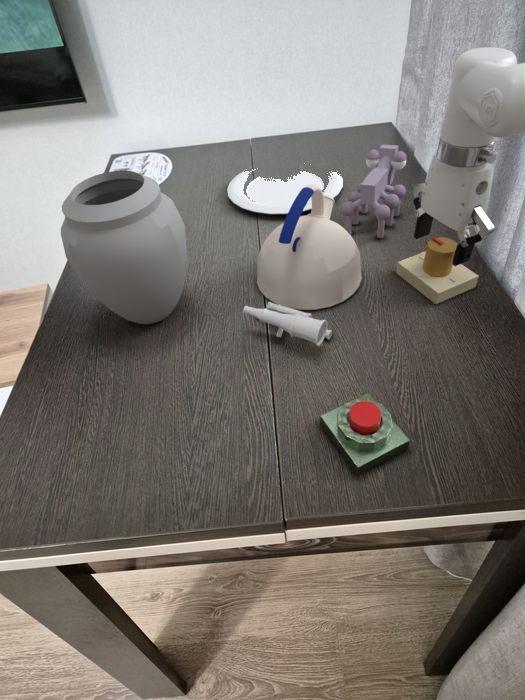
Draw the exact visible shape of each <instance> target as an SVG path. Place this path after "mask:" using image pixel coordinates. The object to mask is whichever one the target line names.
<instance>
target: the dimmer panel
mask: <svg viewBox="0 0 525 700" xmlns="http://www.w3.org/2000/svg"><path fill="white" fill-rule="evenodd" d="M425 253H426V250H425V251H422V252H419V253H417V254H415V255H414V254H413V255H412V256H410V257H407V258H404V259H402V260H399V261H397V262H396V269H395V274H397V275H398V276H399V277H400V278H402V279H403V280H404V281H405V282H406V283H408V284H409V285H410V286H411V287H413V288H414V289H415V290H416V291H418V292H420V294H422V295H423V296H424V297H426V298H427V299H428V300H429V301H430V302H432V303H433V304H434V305H437V304H440V303H442V302H445V301H447V300H449V299H451V298H454V297H456V296H458V295H461V294H463V293H465V292H468V291H470V290H472V289H475V288H476V286H477V283H478V280H479V277H480V276H479V275H478V274H477V273H475V272H474V271H472V270H471V269H469V268H468V267H466V266H464V265H463V263H462V264H460V265H457V266H454V265H453V267H452V271H451V273H450V274H448V275H446V276H442V277H436V276H431V275H429V274H427V273H426V272H425V271H424V270H423V263H424V258H425Z"/></svg>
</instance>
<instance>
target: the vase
mask: <svg viewBox="0 0 525 700" xmlns="http://www.w3.org/2000/svg"><path fill="white" fill-rule="evenodd" d="M61 212H62V214H63V216H64V219H63V222H62V224H61V226H60V237H61V241H62V246H63V250H64V255H65V257H66V260H67V262H68V264H69V265H70V266H71V268H72V269H73V271H74V272H75V274H76V275H77V276H78V278H79V279H80V280H81V281H82V283H83V285H84V286H85V287H86V288H87V290H88V291H89V292H90V293H91V294H92V295H93V296H94V297H96V299H98V300H99V301H100V302H101V303H102V304H103V305H104V306H105V307H106V308H107V309H108V310H109V311H111V312H113V313H114V314H116V315H118V316H120V317H121V318H123V319H125V320H127V321H128V322H133V323H135V324H138V325H150V324H151V325H152V324H156V323H158V322H159V323H160V322H161V321H163V320H165V319H166V318H168V317H169V316H170V314H172V312H173V311H174V310H175V308H176V307H177V305H178V304H179V301H180V298H181V296H182V294H183V292H184V288H185V281H186V274H187V269H188V251H187V237H186V236H187V235H186V225H185V223H184V220H183V218H182V217H181V214H180V212H179V210H178V208H177V207H176V204H175V202H174V200H172V199H171V197H170V196H168V195H166V194H165V193H163V192H162V191H161V187H160V184H159V183H158V181H156V180H155V179H154V178H152V177H149V176H147V175H143V174H141V173H139V172H136V171H132V170H112V171H106V172H101V173H99V174H95V175H93V176H91V177H88V178H86V179H83V180H82V181H80V182H79V183H77V184H76V186H74V187H73V188H72V190H71V191H70V192H69V194H68V196H66V198H65V199H64V200H63V202H62V205H61Z"/></svg>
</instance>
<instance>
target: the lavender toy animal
mask: <svg viewBox="0 0 525 700" xmlns="http://www.w3.org/2000/svg"><path fill="white" fill-rule="evenodd" d="M399 146H400V145H398V144H397V145H396V144H381V145H380V146H379V147H378V150H376V149H370V150H369V151H368V152H367V154H366V155H365V156H366V157H365V158H366V159H365V164H366V166H367V167H368V169H372V170H371V171H370V172H369V173H368V175H366V177H365V178H364V179H363V180H362V181H361V182H360V183H359V184H358V186H357V188H356V190H355V191H352V192H351V193H350V194H349V195H348V198H347V201H344V202H343V203H342V204H341V206H340V212H341V214H342V215H343V216H344V229H345V230H346V231H347V232H348V233H349V234H350V235H352V234H353V230H352V229H353V228H352V225H358V224H359V221H360V219H359V207H360V213H361V214H366V213H368V206H370V207H372V209H373V210H374V216H375V218H376V219H377V229H376V237H377V238H379V239H382V238H384V234H385V225H386V226H387V227H392V226H393V224H394V217H398V216H400V212H401V211H400V210H401V203H402V202H401V201H402V198H404V197H405V196H406V194H407V190H406V186H404V185H403V184H400V183H399V184H395V185H394V186H393V185H392V183H393V182H394V178H395V173H396V172H395V171H401V170H402V169H403V168H404V167H406V165H407V154H406V153H405V152H404V151H403V150H399ZM388 193H389V194H388ZM380 199H381V200H383V204H380V203H379V202H378V201H379V200H380Z"/></svg>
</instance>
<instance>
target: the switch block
mask: <svg viewBox="0 0 525 700" xmlns="http://www.w3.org/2000/svg"><path fill="white" fill-rule="evenodd" d="M361 401H367V402H371V403H373V404H375V405H376V406H377V407H378V408H379V409H380V411H381V422H380V426H379V428H378V430H377V431H375V432H374V433H372V434H360V433H358V432H356V431H354V430H353V429H352V428H351V426H350V424H349V412H350V408H351V407H352V406H353V405H354V404H355V403H357V402H361ZM319 425H320V426H321V429H322V430H323V431H324V432H325V434H326V435H327V436H328V438H329V439H330V441H331V442H332V443H333V446H334V447H335V448H336V449H337V450H338V452H339V454H340V455H341V456H342V457H343V459H344V460H345V462H346V463H347V465H348V466H349V467H350V469H351V470H352V471H353V473H354V474H355V476H359V475H361V474H364V473H366V472H367V471H370V470H371V469H372V468H374V467H377V466H379V465H380V464H382V463H384V462H386V461H388V460H390V459H392V458H394V457H397V456H398V455H400V454H401V453H403V452H405V451H407V450H408V448H409V445H410V442H411V440H410V438H409V437H408V436H407V435H406V434H405V432H404V431H403V430H402V429H401V428H400V427H399V426H398V425H397V424H396V422H395V421H394V420H393V418H392V414H391V413H390V412H389V410H388V409H387V408H386V407H385V405H383V404H382V403H380V402H378V401H377V400H376V399H375V398H374V397H373V396H372V395H371V394H370V393H369V392H366V393H365V394H363V395H361V396H359V397H357V398H354V399H351V400H350V401H347V402H345V403H344V404H341V405H339V406H338V407H335V408H333V409H331V410H329V411H327V412H325V413H323V414H321V415H320V416H319Z"/></svg>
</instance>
